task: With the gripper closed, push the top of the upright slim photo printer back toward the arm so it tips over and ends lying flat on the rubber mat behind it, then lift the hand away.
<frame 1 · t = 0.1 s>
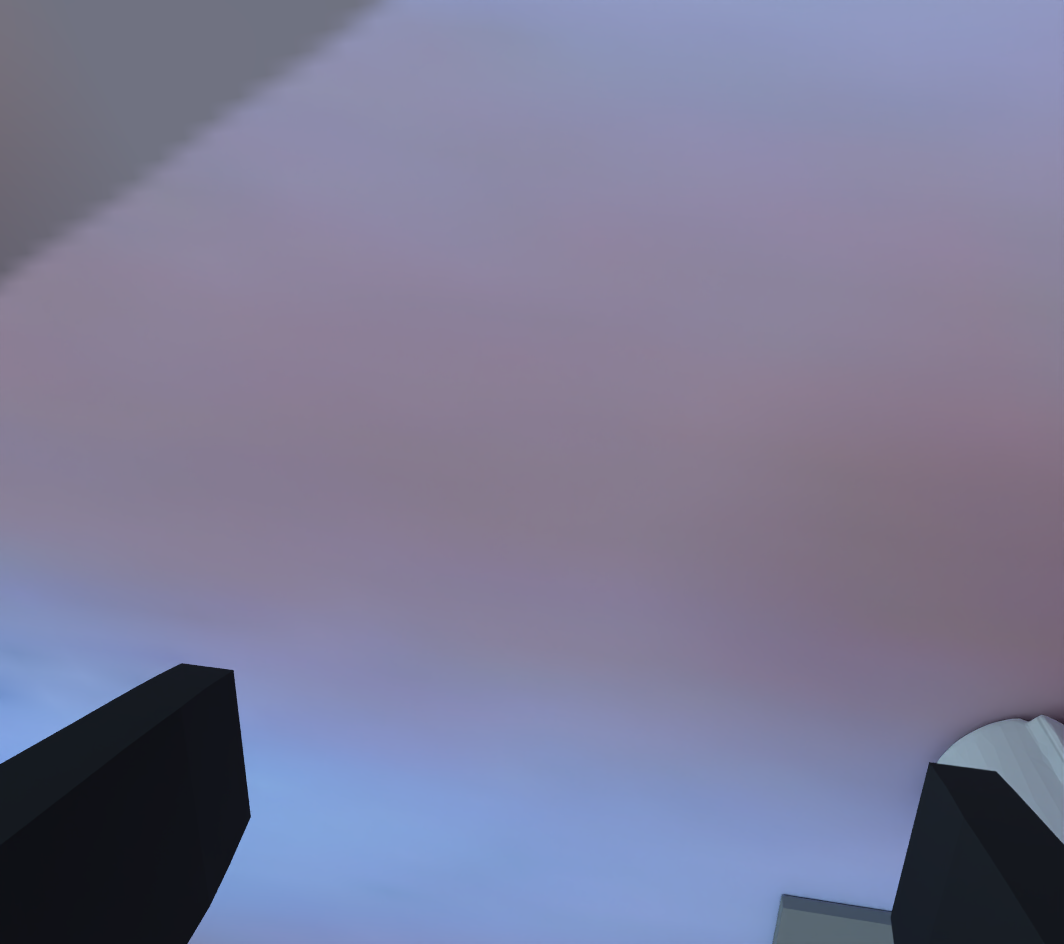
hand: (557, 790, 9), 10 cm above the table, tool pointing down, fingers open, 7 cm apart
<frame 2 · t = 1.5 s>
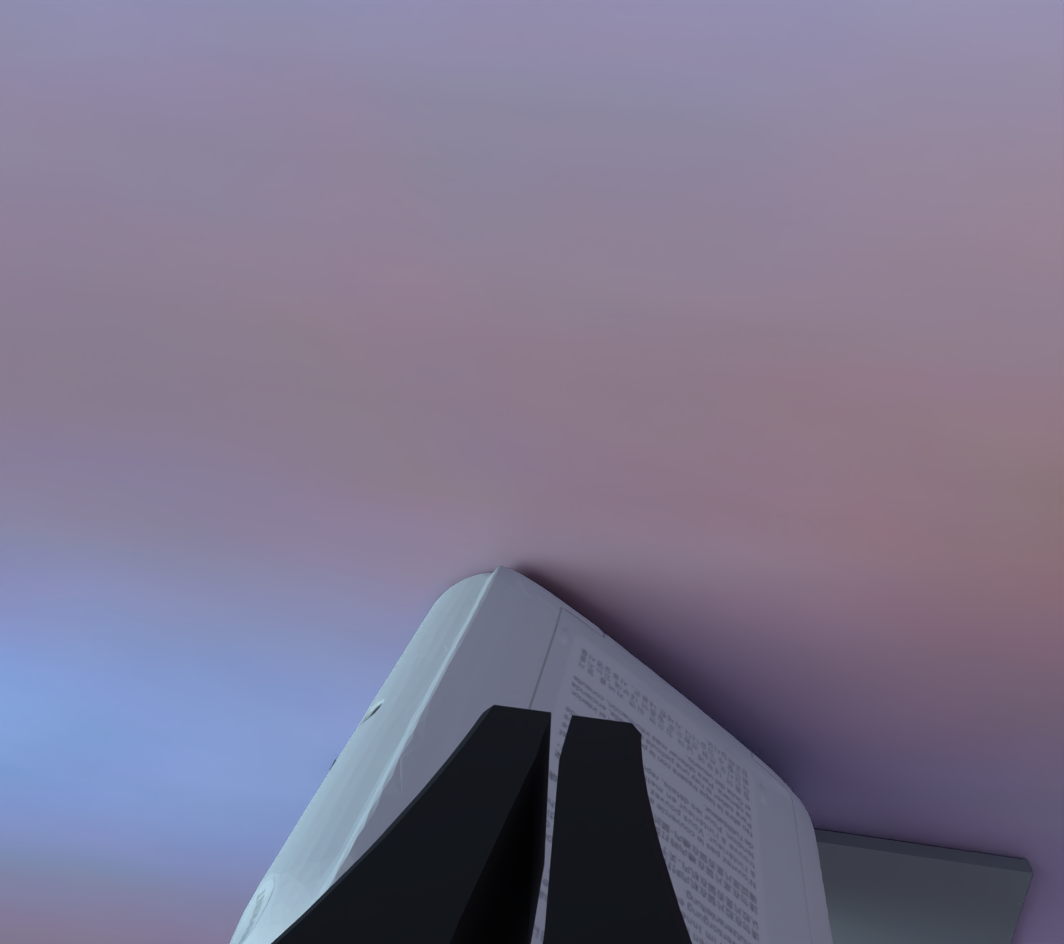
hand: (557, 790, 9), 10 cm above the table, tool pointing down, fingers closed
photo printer: (608, 718, 22), on the table, touching mat
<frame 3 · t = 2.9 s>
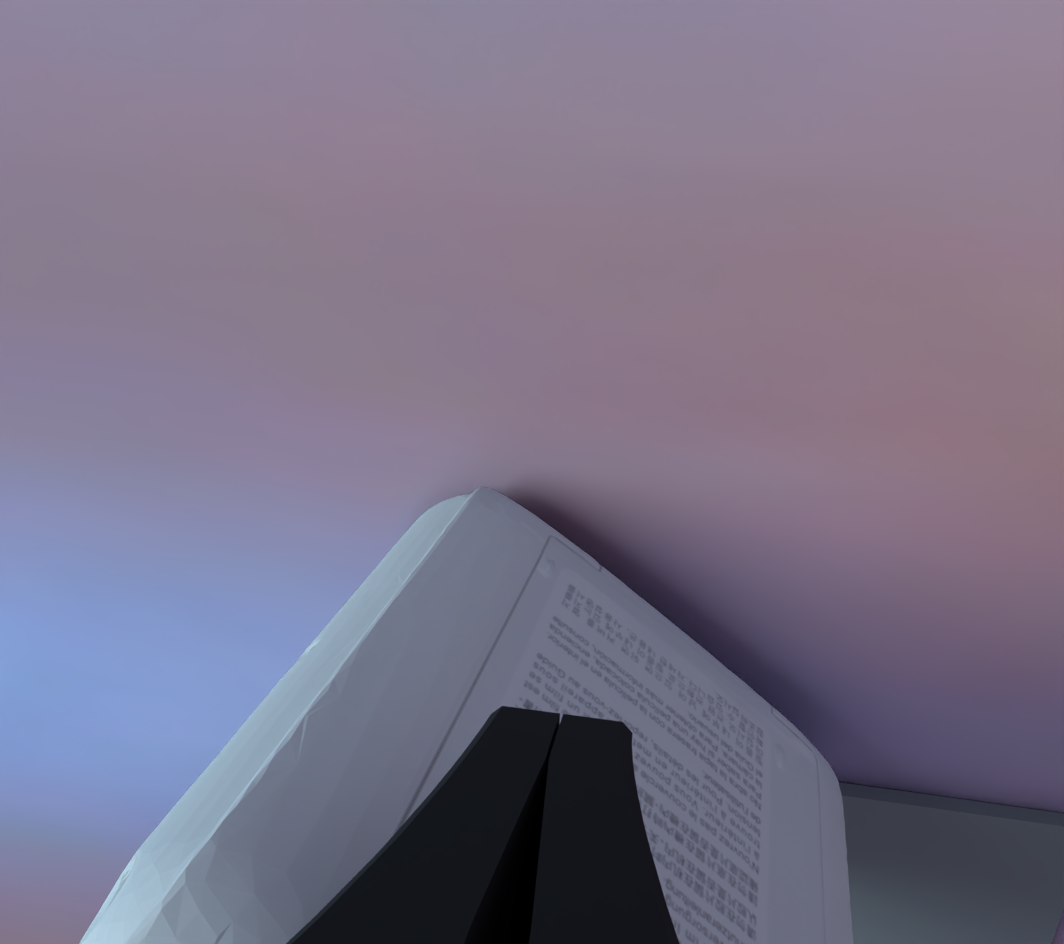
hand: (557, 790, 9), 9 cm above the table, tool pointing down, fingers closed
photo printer: (609, 662, 19), on the table, touching mat
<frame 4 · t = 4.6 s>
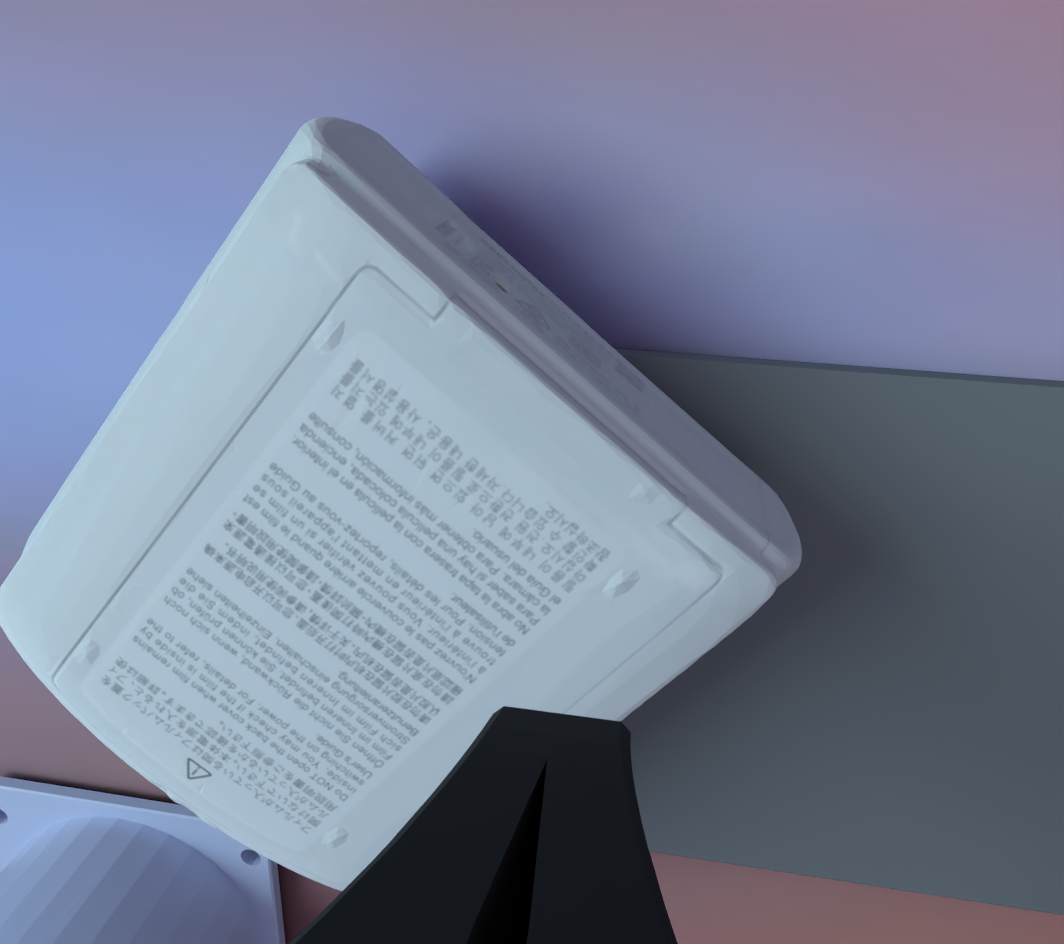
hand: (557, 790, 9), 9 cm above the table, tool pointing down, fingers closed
mat: (686, 626, 19), on the table
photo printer: (585, 322, 14), point 3 cm above the table, touching mat
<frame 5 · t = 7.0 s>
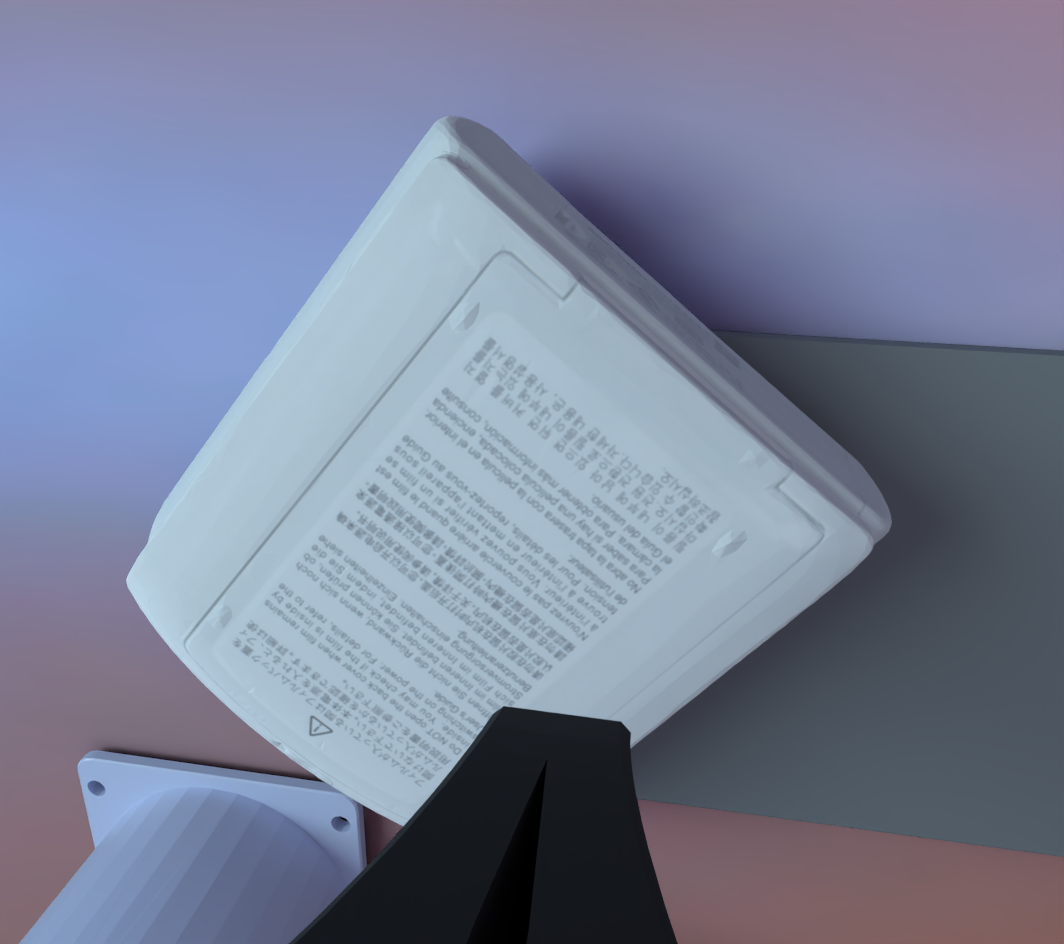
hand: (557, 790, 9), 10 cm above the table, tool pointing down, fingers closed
mat: (765, 594, 20), on the table
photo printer: (689, 303, 15), point 3 cm above the table, touching mat
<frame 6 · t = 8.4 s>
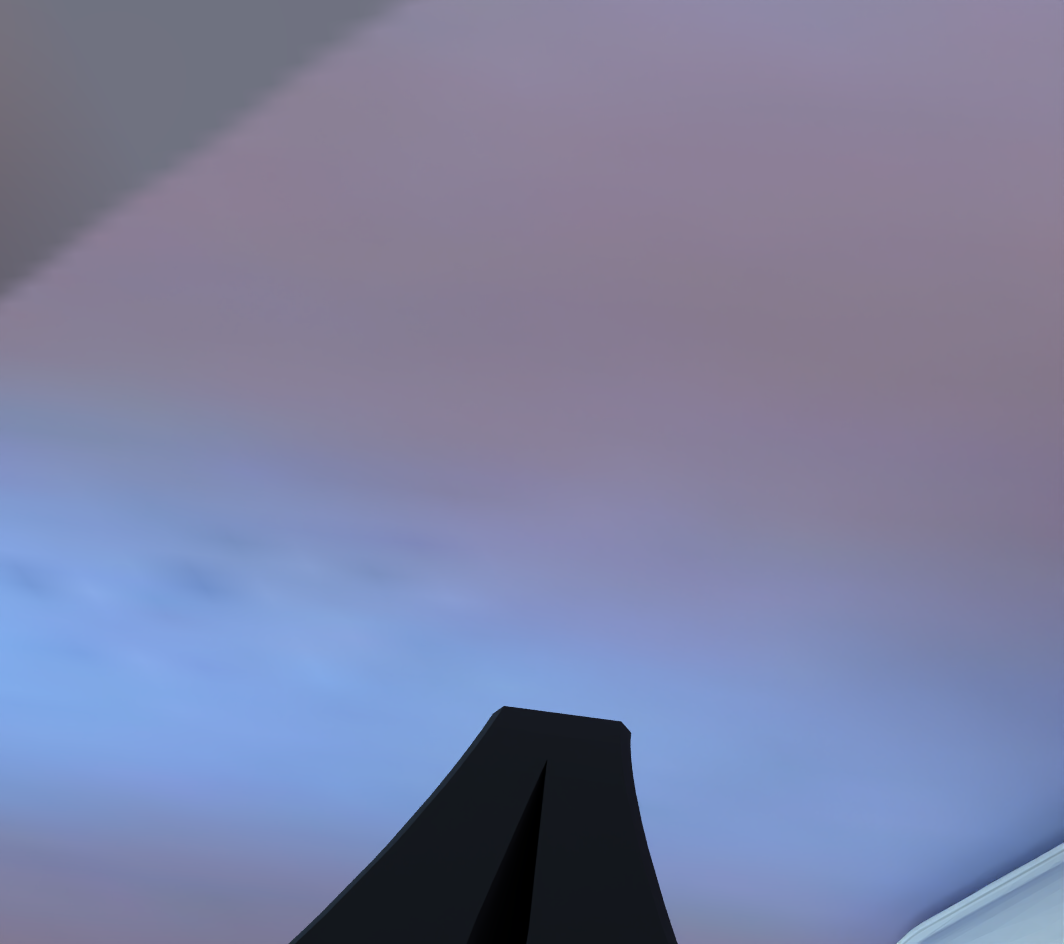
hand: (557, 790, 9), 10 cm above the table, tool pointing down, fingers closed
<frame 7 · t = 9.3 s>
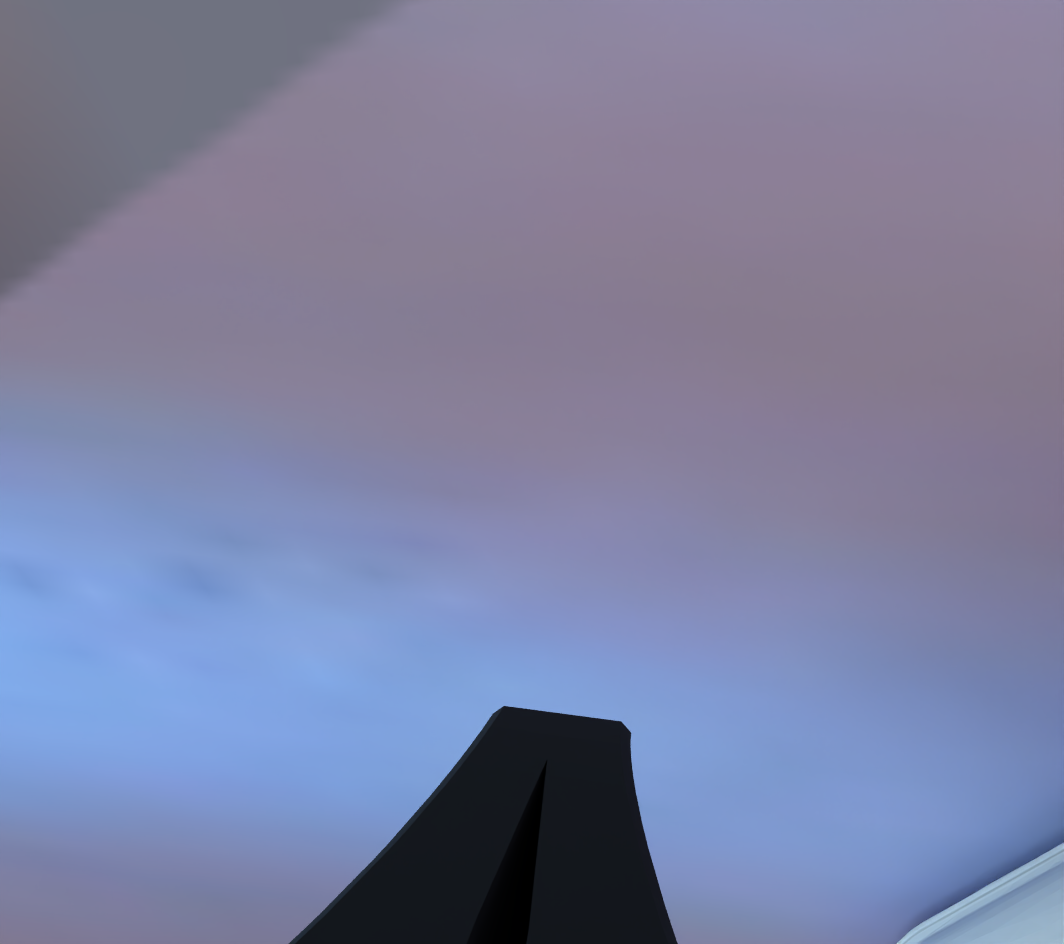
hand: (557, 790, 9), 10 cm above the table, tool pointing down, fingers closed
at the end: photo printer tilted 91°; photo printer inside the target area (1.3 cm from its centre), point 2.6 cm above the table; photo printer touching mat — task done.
